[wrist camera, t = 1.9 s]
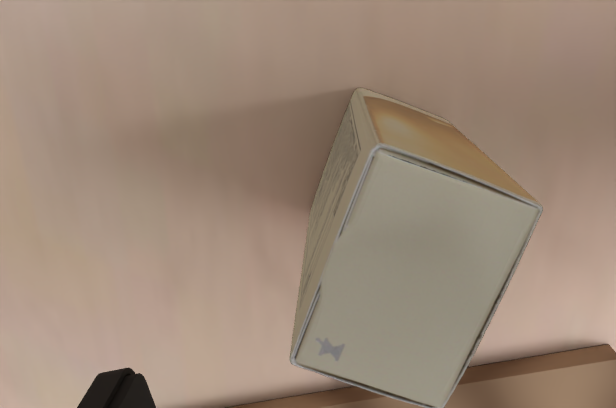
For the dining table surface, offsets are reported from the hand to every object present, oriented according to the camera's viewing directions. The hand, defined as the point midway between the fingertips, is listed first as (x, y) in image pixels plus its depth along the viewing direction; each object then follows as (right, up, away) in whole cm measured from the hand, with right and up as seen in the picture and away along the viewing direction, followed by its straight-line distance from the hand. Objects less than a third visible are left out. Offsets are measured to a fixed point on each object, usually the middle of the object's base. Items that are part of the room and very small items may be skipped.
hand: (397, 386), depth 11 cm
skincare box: (+1, +5, +15) cm, 16 cm away
